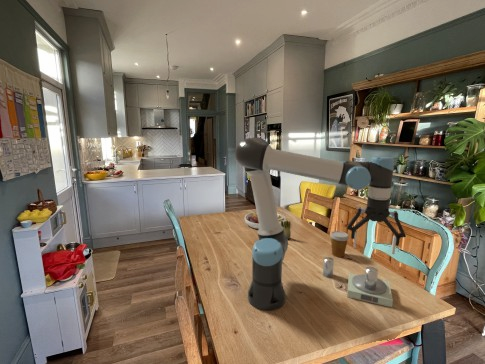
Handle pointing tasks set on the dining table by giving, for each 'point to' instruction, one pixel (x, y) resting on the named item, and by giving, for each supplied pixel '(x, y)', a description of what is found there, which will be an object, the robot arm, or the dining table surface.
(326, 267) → the spacer
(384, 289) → the kitchen scale
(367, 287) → the cylinder
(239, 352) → the dining table surface
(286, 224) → the asparagus bundle
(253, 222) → the bowl
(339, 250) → the disposable coffee cup
